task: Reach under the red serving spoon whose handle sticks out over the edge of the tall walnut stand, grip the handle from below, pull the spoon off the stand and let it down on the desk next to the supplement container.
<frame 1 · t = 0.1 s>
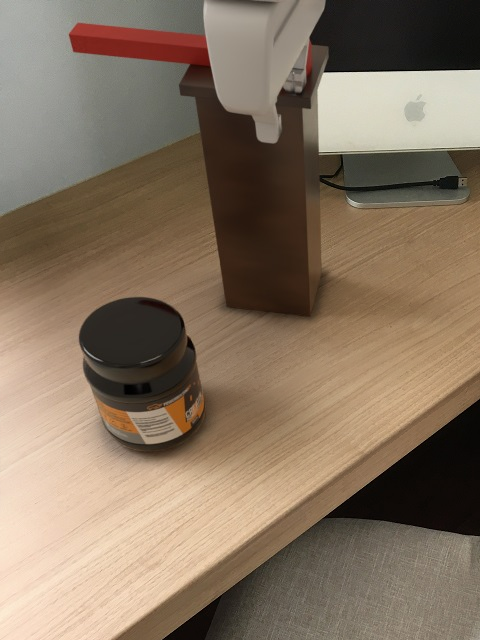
hand: (283, 112, 68), 26 cm above the table, tool pointing down, fingers open, 7 cm apart
walnut stand: (291, 291, 94), on the table
supplement container: (156, 418, 82), on the table
red serving spoon: (277, 66, 73), point 26 cm above the table, touching gripper, walnut stand
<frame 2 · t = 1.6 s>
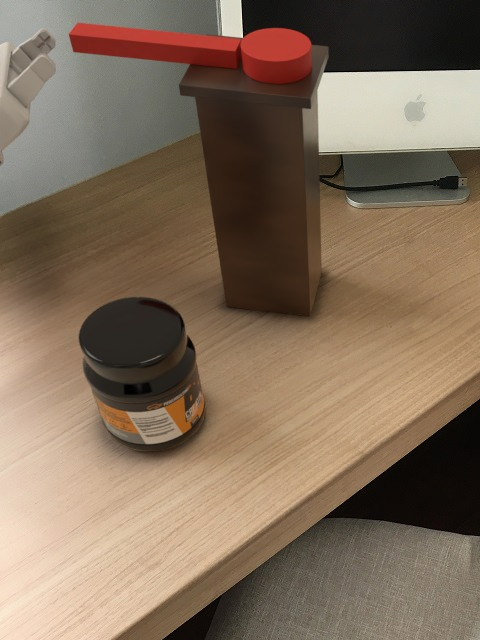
hand: (50, 47, 79), 23 cm above the table, tool pointing upward, fingers open, 8 cm apart
red serving spoon: (277, 66, 73), point 26 cm above the table, touching walnut stand
everything else where it was.
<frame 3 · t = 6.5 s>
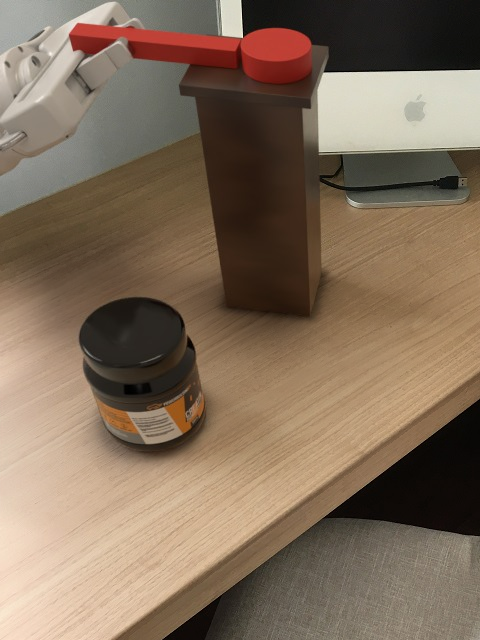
hand: (134, 38, 72), 27 cm above the table, tool pointing upward, fingers closed on red serving spoon, 2 cm apart
red serving spoon: (277, 66, 73), point 26 cm above the table, touching gripper, walnut stand
everything else where it was.
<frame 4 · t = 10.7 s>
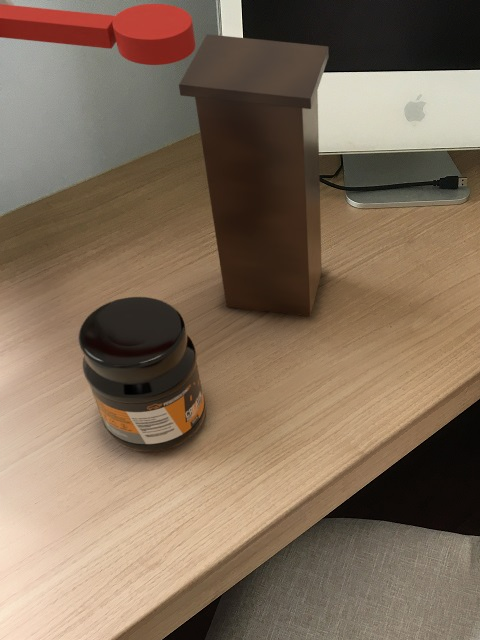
red serving spoon: (157, 46, 66), point 30 cm above the table, touching gripper
everything else where it was.
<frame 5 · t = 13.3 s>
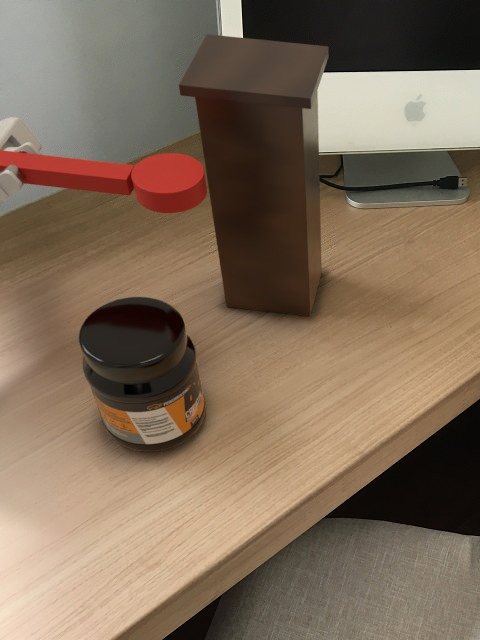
hand: (26, 164, 71), 21 cm above the table, tool pointing upward, fingers closed on red serving spoon, 2 cm apart
red serving spoon: (171, 192, 72), point 19 cm above the table, touching gripper
everything else where it was.
when the fingers open (15 cm above the table, at t = 15.1 s): red serving spoon drops 14 cm, on the table.
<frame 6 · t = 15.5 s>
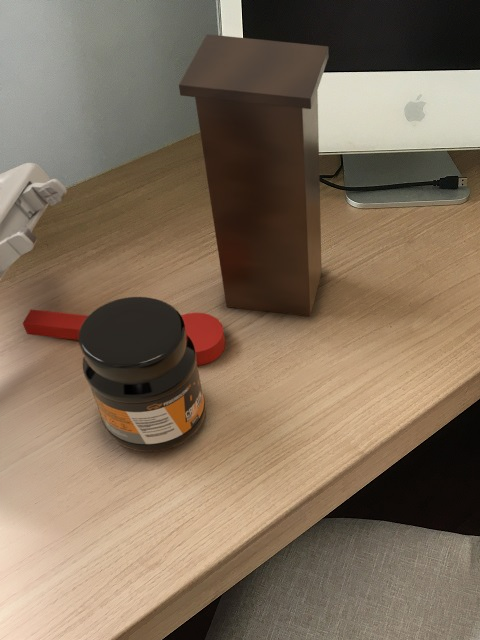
hand: (45, 212, 76), 15 cm above the table, tool pointing upward, fingers open, 6 cm apart
red serving spoon: (196, 345, 88), on the table
everything else where it was.
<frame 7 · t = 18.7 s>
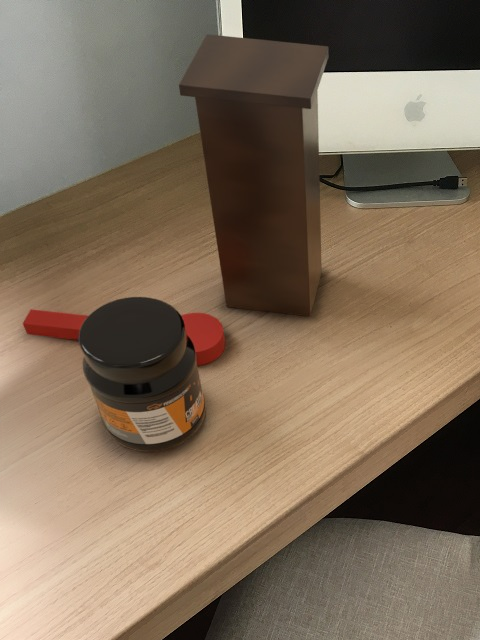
nothing on the table moved.
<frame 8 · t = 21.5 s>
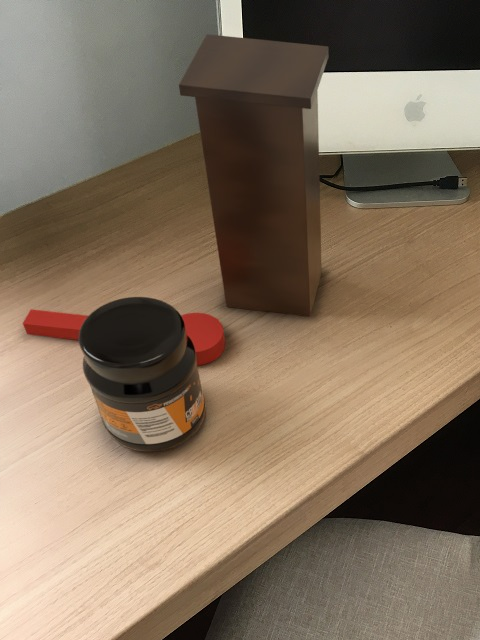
nothing on the table moved.
at the end: red serving spoon 11.2 cm from the supplement container (horizontally); red serving spoon on the table; the gripper is holding nothing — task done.
